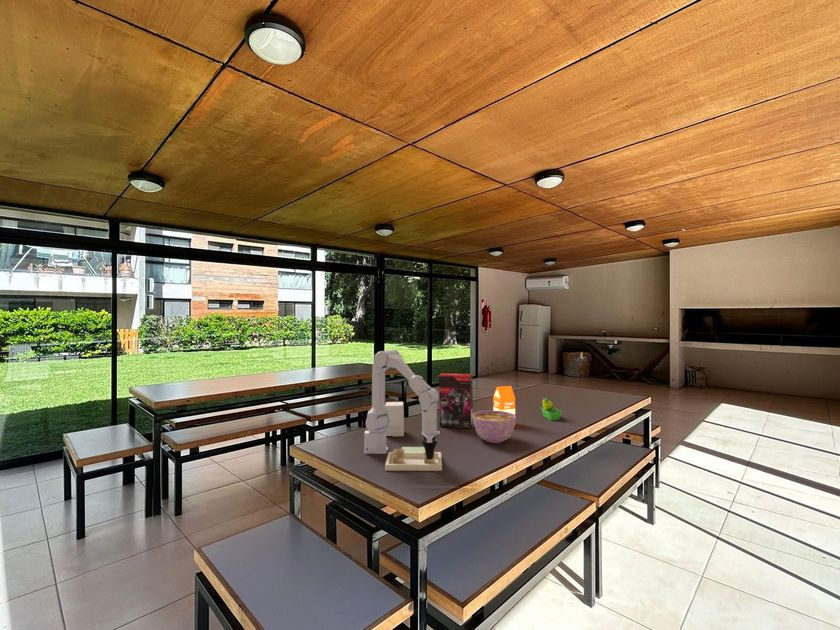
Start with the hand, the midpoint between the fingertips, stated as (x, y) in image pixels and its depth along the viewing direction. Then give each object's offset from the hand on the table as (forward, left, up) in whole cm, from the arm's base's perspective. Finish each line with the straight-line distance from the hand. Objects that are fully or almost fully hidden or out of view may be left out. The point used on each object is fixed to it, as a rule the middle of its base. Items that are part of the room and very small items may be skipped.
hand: (429, 455), depth 154 cm
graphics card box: (+14, +53, -4) cm, 55 cm away
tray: (-6, 0, -4) cm, 7 cm away
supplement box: (-17, +40, -4) cm, 44 cm away
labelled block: (0, 0, -3) cm, 3 cm away
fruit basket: (+68, +70, -4) cm, 98 cm away
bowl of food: (+30, +30, -4) cm, 43 cm away
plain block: (-12, 0, -3) cm, 12 cm away
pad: (-6, +14, -4) cm, 16 cm away
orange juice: (+40, +58, -4) cm, 71 cm away
